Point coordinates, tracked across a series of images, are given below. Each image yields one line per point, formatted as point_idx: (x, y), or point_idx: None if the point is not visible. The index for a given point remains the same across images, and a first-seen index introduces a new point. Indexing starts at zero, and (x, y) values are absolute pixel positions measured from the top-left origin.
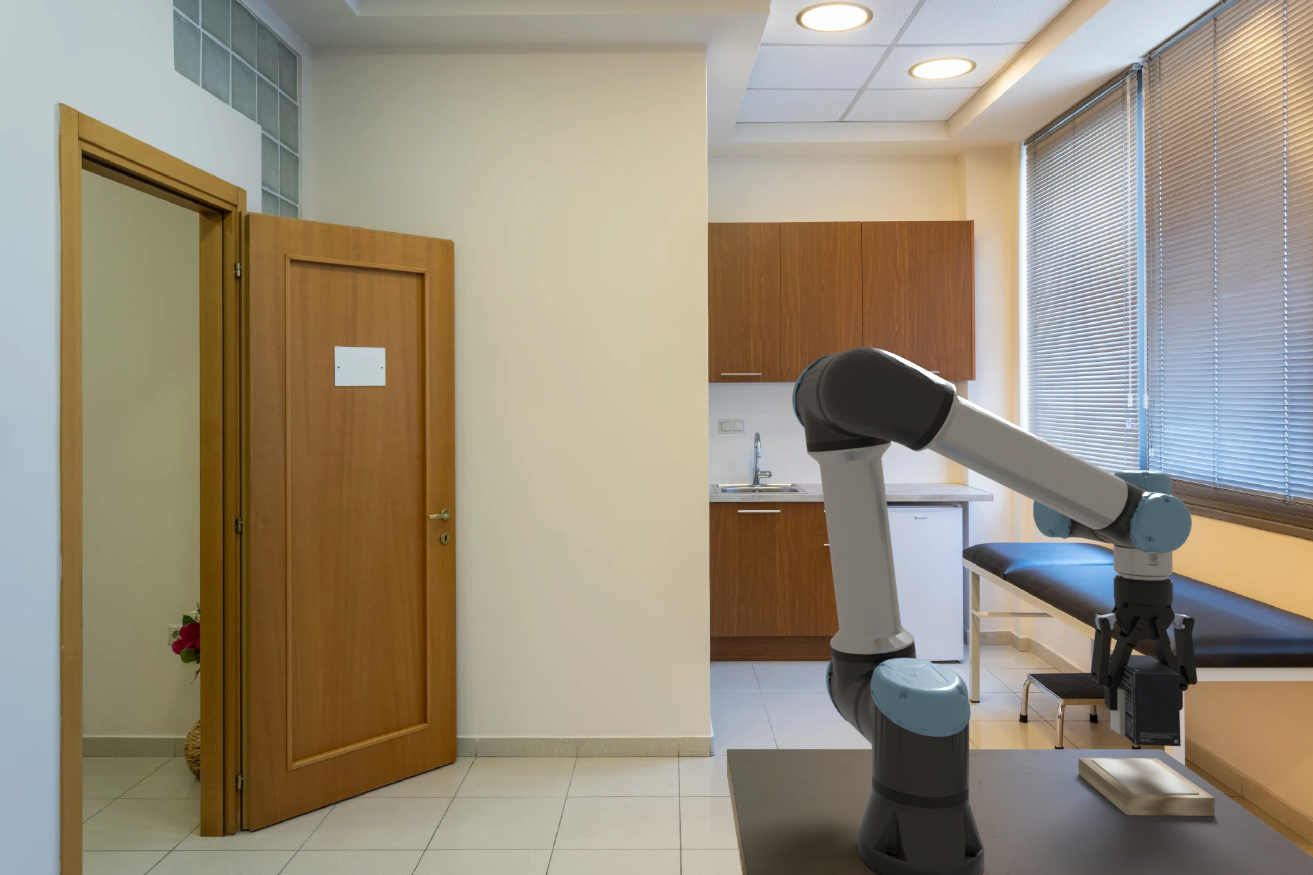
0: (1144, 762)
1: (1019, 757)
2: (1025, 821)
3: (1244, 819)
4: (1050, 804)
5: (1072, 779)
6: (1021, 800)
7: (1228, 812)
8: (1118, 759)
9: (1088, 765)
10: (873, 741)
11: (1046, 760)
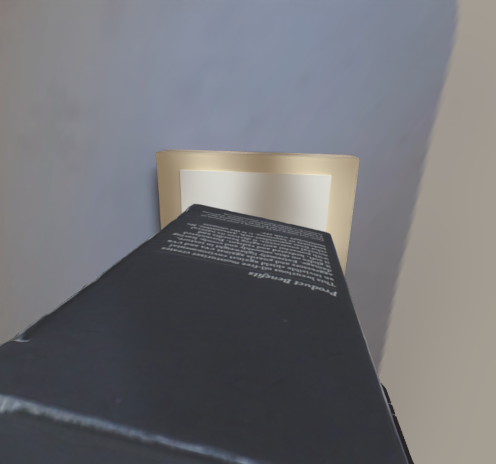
0: (302, 193)
1: (66, 41)
2: (18, 331)
3: (372, 353)
4: (70, 282)
5: (145, 178)
6: (26, 265)
7: (365, 329)
8: (246, 172)
9: (160, 199)
10: None
11: (125, 61)
